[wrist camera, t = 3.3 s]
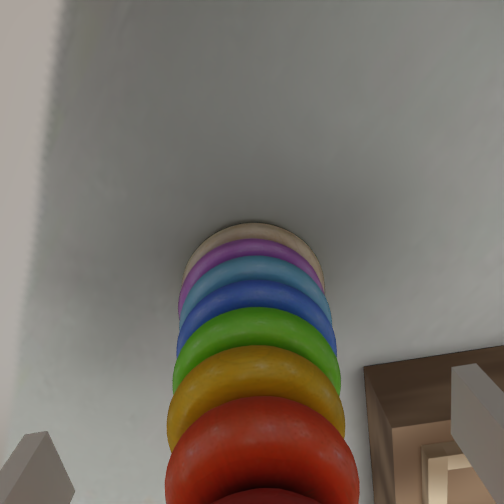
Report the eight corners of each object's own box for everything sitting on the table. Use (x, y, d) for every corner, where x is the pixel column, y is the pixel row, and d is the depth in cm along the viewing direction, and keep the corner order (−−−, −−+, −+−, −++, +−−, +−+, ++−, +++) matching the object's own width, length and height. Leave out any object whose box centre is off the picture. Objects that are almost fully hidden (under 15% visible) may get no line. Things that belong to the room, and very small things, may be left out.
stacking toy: (346, 294, 22) (710, 953, 5) (240, 363, 24) (229, 1047, 7) (267, 189, 20) (422, 724, 3) (155, 273, 22) (-214, 956, 4)
